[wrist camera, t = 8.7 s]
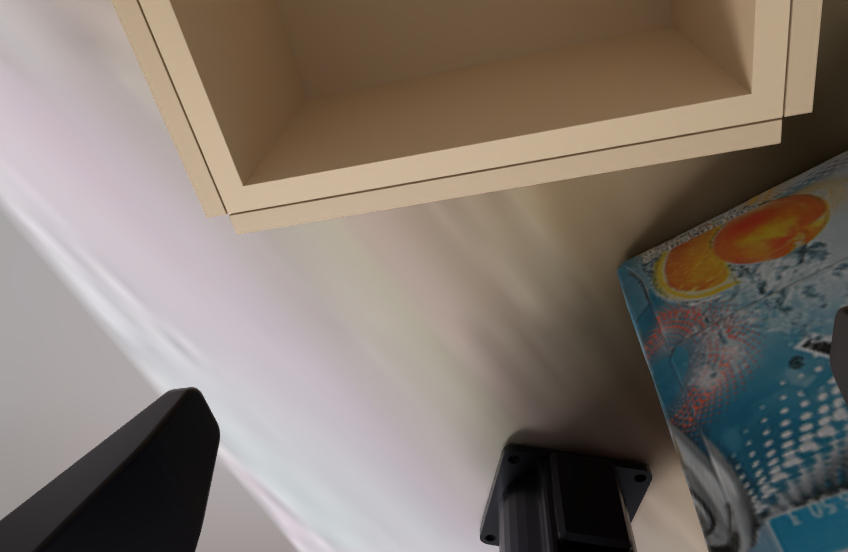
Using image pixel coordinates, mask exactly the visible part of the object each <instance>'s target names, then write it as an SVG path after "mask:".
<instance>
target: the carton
mask: <svg viewBox="0 0 848 552" xmlns="http://www.w3.org/2000/svg"><path fill="white" fill-rule="evenodd" d="M111 1H112V4H113V6H114V8H115V11H116V13H117V15H118V17H119V20H120V22H121V24H122V26H123V29H124V31H125V33H126V36H127V38H128V40H129V42H130V45H131V47H132V49H133V51H134V54H135V56H136V58H137V61H138V63H139V65H140V67H141V70H142V72H143V74H144V76H145V79H146V81H147V83H148V86H149V88H150V90H151V92H152V95H153V97H154V99H155V101H156V104H157V106H158V108H159V111H160V113H161V115H162V117H163V120H164V122H165V124H166V126H167V129H168V131H169V133H170V136H171V138H172V140H173V142H174V145H175V147H176V149H177V151H178V154H179V156H180V158H181V161H182V163H183V165H184V167H185V170H186V172H187V174H188V176H189V179H190V181H191V183H192V186H193V188H194V190H195V192H196V195H197V197H198V199H199V201H200V204H201V206H202V208H203V211H204V213H205V215H206V217H207V218H209V217H215V216H220V215H226V214H227V213H228V214H230V216H229V217H230V219H231V221H232V224H233V226H234V229H235V231H236V233H237V235H238V234H244V233H249V232H255V231H261V230H267V229H273V228H279V227H285V226H291V225H297V224H303V223H309V222H315V221H321V220H327V219H333V218H339V217H345V216H351V215H356V214H362V213H368V212H374V211H380V210H386V209H392V208H398V207H404V206H410V205H416V204H422V203H428V202H434V201H440V200H446V199H452V198H458V197H463V196H469V195H475V194H481V193H487V192H493V191H499V190H505V189H511V188H517V187H523V186H529V185H535V184H541V183H547V182H553V181H559V180H565V179H570V178H576V177H582V176H588V175H594V174H600V173H606V172H612V171H618V170H624V169H630V168H636V167H642V166H648V165H654V164H660V163H666V162H672V161H677V160H683V159H689V158H695V157H701V156H707V155H713V154H719V153H725V152H731V151H737V150H743V149H749V148H755V147H761V146H767V145H773V144H779V143H781V129H782V119H781V117H782V115H783V116H785V117H787V116H793V115H798V114H804V113H810V112H812V108H813V97H814V86H815V76H816V65H817V55H818V44H819V33H820V23H821V12H822V2H823V0H111Z"/></svg>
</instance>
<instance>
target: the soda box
mask: <svg viewBox="0 0 848 552" xmlns="http://www.w3.org/2000/svg"><path fill="white" fill-rule="evenodd" d="M617 273H618V277H619V280H620V284H621V287H622V291H623V294H624V297H625V301H626V304H627V307H628V310H629V313H630V316H631V319H632V322H633V325H634V328H635V331H636V334H637V337H638V339H639V342H640V345H641V348H642V351H643V354H644V356H645V359H646V362H647V365H648V367H649V370H650V373H651V376H652V379H653V382H654V385H655V388H656V391H657V394H658V397H659V400H660V404H661V407H662V410H663V413H664V416H665V419H666V422H667V425H668V428H669V431H670V434H671V437H672V440H673V443H674V447H675V450H676V453H677V455H678V458H679V461H680V464H681V467H682V469H683V472H684V475H685V478H686V481H687V483H688V486H689V489H690V493H691V496H692V499H693V502H694V505H695V509H696V512H697V515H698V518H699V521H700V525H701V528H702V531H703V534H704V537H705V541H706V544H707V547H708V550H709V552H848V408H847V405H846V403H845V401H844V399H843V396H842V394H841V392H840V390H839V388H838V385H837V383H836V381H835V379H834V376H833V374H832V371H831V367H830V349H831V341H832V334H833V327H834V319H835V315H836V313H837V311H838V310H839V309H840V308H842V307H844V306H848V151H846V152H843V153H841V154H839V155H837V156H835V157H833V158H831V159H829V160H827V161H825V162H824V163H822V164H820V165H818V166H816V167H814V168H812V169H810V170H808V171H806V172H804V173H802V174H800V175H798V176H796V177H794V178H792V179H790V180H788V181H786V182H784V183H782V184H780V185H777V186H775V187H773V188H771V189H769V190H767V191H765V192H763V193H761V194H759V195H757V196H755V197H754V198H752V199H750V200H748V201H746V202H744V203H742V204H740V205H738V206H736V207H735V208H733V209H731V210H729V211H727V212H725V213H723V214H721V215H719V216H717V217H715V218H713V219H711V220H708V221H706V222H704V223H702V224H700V225H698V226H696V227H694V228H692V229H690V230H688V231H686V232H684V233H682V234H680V235H678V236H676V237H674V238H672V239H670V240H668V241H666V242H664V243H662V244H660V245H658V246H656V247H654V248H652V249H650V250H647V251H645V252H643V253H641V254H639V255H637V256H635V257H633V258H631V259H629V260H627V261H625V262H623V263H622V264H621V265H620V266H619V267H618V269H617Z"/></svg>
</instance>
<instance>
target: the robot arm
mask: <svg viewBox="0 0 848 552" xmlns="http://www.w3.org/2000/svg"><path fill="white" fill-rule="evenodd" d="M830 367H831V371H832V374H833V376H834V379H835V381H836V383H837V385H838V388H839V390H840V392H841V394H842V396H843V399H844V401H845V403H846V405H847V408H848V306H844V307H842V308H840V309H839V310H838V311H837V313H836V315H835V319H834V327H833V334H832V341H831V349H830ZM219 441H220V430H219V426H218V423H217V421H216V419H215V417H214V416H213V414H212V412H211V410H210V408H209V406H208V404H207V402H206V400H205V399H204V397H203V395H202V393H201V392H200V391H199V390H198V389H197V388H194V387H188V388H180V389H173V390H170V391H168V392H166V393H165V394H164V395H162V396H161V397H160V398H158V399H157V400H156V401H155V402H153V403H152V404H151V405H149V406H148V407H147V408H146V409H144V410H143V411H142V412H140V413H139V414H138V415H137V416H135V417H134V418H133V419H131V420H130V421H129V422H127V423H126V424H125V425H124V426H122V427H121V428H120V429H118V430H117V431H116V432H114V433H113V434H112V435H111V436H109V437H108V438H107V439H105V440H104V441H103V442H102V443H100V444H99V445H98V446H96V447H95V448H94V449H93V450H91V451H90V452H89V453H87V454H86V455H85V456H83V457H82V458H81V459H80V460H78V461H77V462H76V463H74V464H73V465H72V466H70V467H69V468H68V469H67V470H65V471H64V472H63V473H61V474H60V475H59V476H58V477H56V478H55V479H54V480H52V481H51V482H50V483H49V484H47V485H46V486H45V487H43V488H42V489H41V490H39V491H38V492H37V493H36V494H34V495H33V496H32V497H30V498H29V499H28V500H26V501H25V502H24V503H23V504H21V505H20V506H19V507H18V508H16V509H15V510H14V511H12V512H11V513H10V514H8V515H7V516H6V517H4V518H3V519H2V520H1V521H0V552H195V550H196V547H197V543H198V540H199V536H200V533H201V529H202V524H203V520H204V516H205V511H206V506H207V501H208V496H209V491H210V486H211V481H212V476H213V471H214V466H215V461H216V457H217V452H218V447H219ZM513 455H516V456H513ZM512 456H513V457H512ZM639 474H641V475H639ZM651 480H652V474H651V471H650V468H649V466H647V465H646V464H643V463H637V462H630V461H624V460H617V459H610V458H604V457H597V456H590V455H583V454H577V453H570V452H563V451H556V450H550V449H543V448H536V447H530V446H523V445H516V444H511V445H508V446H506V447H505V448H504V449H503V451H502V454H501V457H500V461H499V464H498V468H497V471H496V475H495V478H494V482H493V485H492V489H491V492H490V496H489V499H488V503H487V506H486V510H485V513H484V517H483V520H482V524H481V527H480V540H481V541H482V542H483V543H485V544H489V545H496V546H499V549H500V552H637V549H636V545H635V540H634V536H633V531H632V527H631V522H632V520H633V518H634V516H635V513H636V511H637V509H638V507H639V505H640V503H641V501H642V499H643V497H644V495H645V493H646V491H647V489H648V487H649V485H650V482H651Z"/></svg>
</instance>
